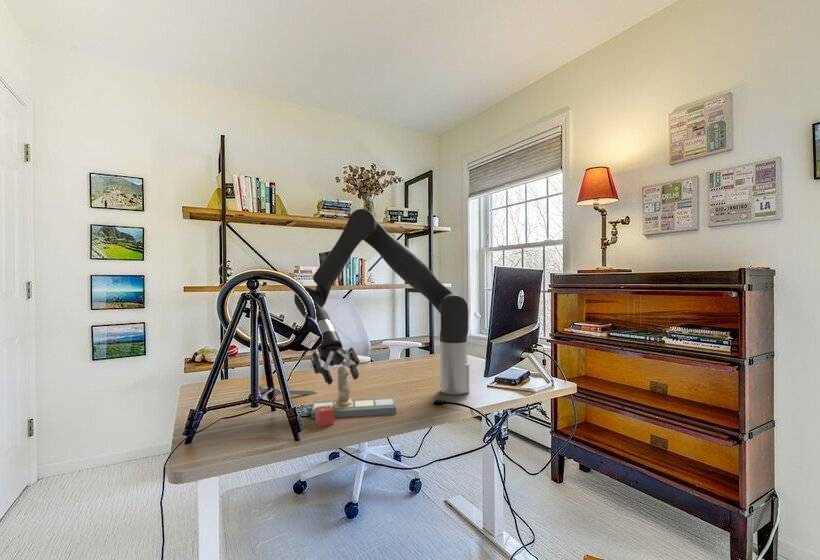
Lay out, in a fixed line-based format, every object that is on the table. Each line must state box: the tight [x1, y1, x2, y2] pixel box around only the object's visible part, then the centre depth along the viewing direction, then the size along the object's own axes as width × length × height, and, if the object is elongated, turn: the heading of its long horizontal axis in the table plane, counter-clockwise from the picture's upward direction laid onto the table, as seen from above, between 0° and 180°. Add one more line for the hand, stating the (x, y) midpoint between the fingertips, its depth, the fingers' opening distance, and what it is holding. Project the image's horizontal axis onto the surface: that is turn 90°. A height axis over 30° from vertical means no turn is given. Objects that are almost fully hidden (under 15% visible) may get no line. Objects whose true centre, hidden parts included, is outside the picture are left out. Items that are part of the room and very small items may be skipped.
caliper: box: [259, 383, 318, 398], centre depth 132 cm, size 20×1×6 cm, turn 124°
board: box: [310, 396, 397, 419], centre depth 119 cm, size 24×10×2 cm, turn 98°
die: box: [314, 405, 335, 428], centre depth 109 cm, size 4×4×4 cm
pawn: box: [336, 365, 352, 407], centre depth 118 cm, size 4×4×11 cm
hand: (343, 380), depth 118 cm, fingers open, 8 cm apart
